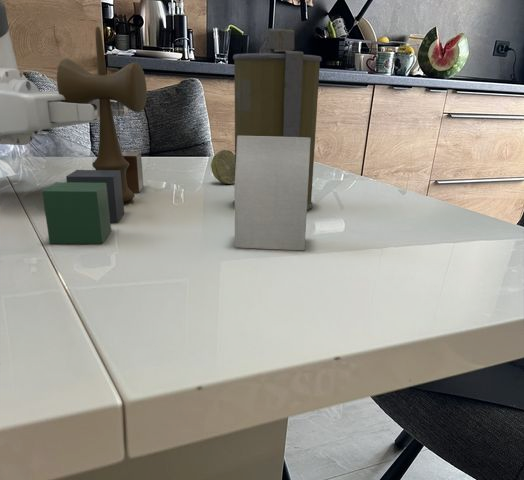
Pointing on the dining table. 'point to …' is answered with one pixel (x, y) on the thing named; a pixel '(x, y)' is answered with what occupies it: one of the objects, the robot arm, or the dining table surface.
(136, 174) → the walnut block
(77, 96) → the kendama
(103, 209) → the forest green block
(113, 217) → the slate block
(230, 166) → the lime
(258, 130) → the canister
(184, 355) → the dining table surface
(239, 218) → the light grey block
